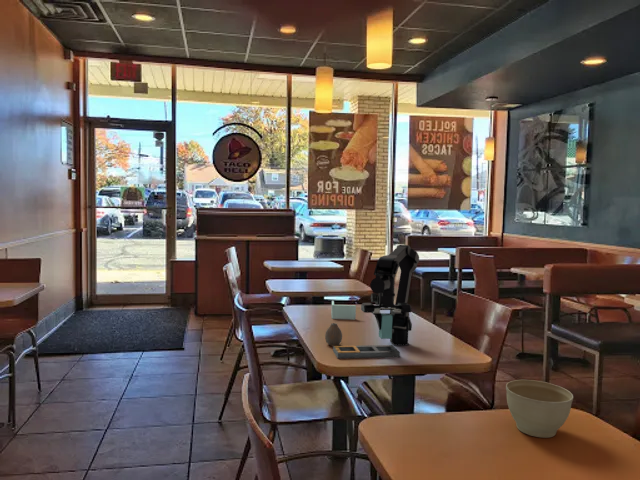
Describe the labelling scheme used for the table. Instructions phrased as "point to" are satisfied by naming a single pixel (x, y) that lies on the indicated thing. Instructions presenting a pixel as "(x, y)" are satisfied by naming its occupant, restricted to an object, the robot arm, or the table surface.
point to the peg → (386, 326)
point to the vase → (333, 335)
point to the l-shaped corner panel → (343, 311)
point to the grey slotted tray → (366, 351)
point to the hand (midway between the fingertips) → (385, 329)
